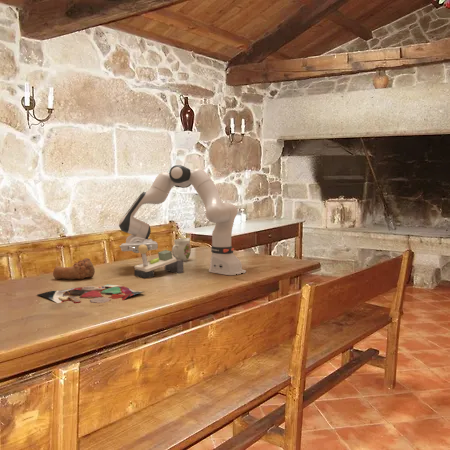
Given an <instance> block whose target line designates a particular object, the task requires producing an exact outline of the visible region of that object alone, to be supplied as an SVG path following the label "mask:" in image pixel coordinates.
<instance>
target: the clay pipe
mask: <svg viewBox="0 0 450 450" xmlns="http://www.w3.org/2000/svg"><path fill="white" fill-rule="evenodd" d="M52 273H53V274H52V276H53V278H54V279H55V280H63V279H67V280H69V279H79V280H83V279H85V278H93V277H94V276H95V267H94V264H93V262H92V260H91V259H90V258H89V257H88V258H87V257H86V258H84V259H82V260H78V262H74V263H73V265H72V266H68V267H66V266H65V267H63V266H60V265H59V266H55V267H54V269H53V272H52Z"/></svg>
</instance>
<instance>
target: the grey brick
mask: <svg viewBox="0 0 450 450" xmlns="http://www.w3.org/2000/svg"><path fill="white" fill-rule="evenodd" d="M174 258H175V257H174ZM175 259H176V258H175ZM164 270H165V271H167V272H171V273H173V274H174V273H175V274H181V273H184V261H183V260H180V259H177V261H176V262H174V263H171V264H168V265H165V266H164ZM134 276H135V277H139V278H141V279H149V278H150V279H151V278H154V277H155V271H154V270H151V271H149V272H145V271H141V270H138V269H134Z"/></svg>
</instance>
